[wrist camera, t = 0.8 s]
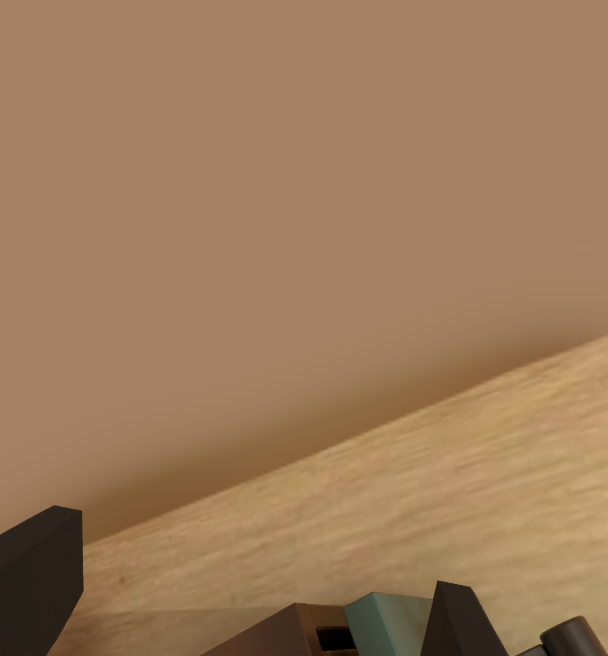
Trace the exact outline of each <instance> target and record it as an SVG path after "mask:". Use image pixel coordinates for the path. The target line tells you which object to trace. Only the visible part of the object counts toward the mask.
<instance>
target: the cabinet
mask: <svg viewBox="0 0 608 656" xmlns="http://www.w3.org/2000/svg"><path fill="white" fill-rule="evenodd" d="M344 607H346V606H331V605H315V604H306V603H293V604H291V605H290V606H288V607H286V608H284V609H282V610H281V611H279V612H277V613H275V614H274V615H272V616H270V617H268V618H266V619H265V620H263V621H261V622H259V623H258V624H256V625H254V626H252V627H250V628H249V629H247V630H245V631H243V632H242V633H240V634H238V635H236V636H234V637H233V638H231V639H229V640H227V641H226V642H224V643H222V644H220V645H218V646H217V647H215V648H213V649H211V650H210V651H208V652H206V653H204V654H202V655H201V656H324V655H323V652H322V651H329V650H342V649H356V646H355V644H354V641H353V638H352V635H351V632H350V630H349V627H348V624H347V621H346V618H345V615H344V613H343V608H344Z"/></svg>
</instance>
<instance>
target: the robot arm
mask: <svg viewBox="0 0 608 656" xmlns="http://www.w3.org/2000/svg"><path fill="white" fill-rule="evenodd" d="M82 542H83V541H82V511H80V510H76V509H71V508H65V507H60V506H52V507H50V508H48V509H46V510H44V511H42V512H40V513H38V514H37V515H35V516H33V517H31V518H29V519H27V520H26V521H24V522H22V523H20V524H18V525H17V526H15V527H13V528H11V529H9V530H8V531H6V532H4V533H3V534H1V535H0V656H46V655H47V653H48V652H49V650H50V649H51V647H52V646H53V644H54V643H55V642H56V640H57V638H58V636H59V635H60V633H61V631H62V629H63V628H64V626H65V624H66V622H67V621H68V619H69V617H70V615H71V613H72V611H73V610H74V608H75V606H76V604H77V602H78V600H79V598H80V597H81V595H82V593H83V591H84V588H83V543H82ZM420 656H509V655H508V653H507V651H506V650H505V648H504V646H503V644H502V642H501V641H500V639H499V637H498V635H497V634H496V632H495V630H494V628H493V626H492V625H491V623H490V621H489V619H488V617H487V615H486V613H485V612H484V610H483V608H482V606H481V604H480V602H479V600H478V598H477V597H476V595H475V593H474V592H473V590H472V589H471V587H468V586H463V585H458V584H453V583H448V582H443V581H438V580H437V585H436V589H435V593H434V598H433V602H432V606H431V611H430V615H429V619H428V623H427V628H426V632H425V636H424V641H423V645H422V649H421V654H420Z"/></svg>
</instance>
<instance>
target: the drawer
mask: <svg viewBox="0 0 608 656" xmlns="http://www.w3.org/2000/svg"><path fill="white" fill-rule="evenodd" d="M432 602H433V599H425V598H417V597H409V596H400V595H392V594H384V593H375V592H371V593H370V594H368V595H366V596H364V597H362V598H360V599H359V600H357V601H355V602H353V603H351V604H349V605H348V606H346V607H344V608H343V613H344V615H345V618H346V621H347V624H348V627H349V630H350V632H351V635H352V638H353V641H354V644H355V646H356V649H342V650H329V651H322V652H323V655H324V656H420V654H421V649H422V645H423V641H424V636H425V632H426V628H427V623H428V619H429V615H430V611H431V606H432ZM539 637H540V640H541V642H542V643H543V644H539V645H537V646H535V647H532V648H530V649H528V650H526V651H524V652H522V653H520V654H518V655H516V656H608V654H607V652H606V651H605V649H604V648H603V646H602V644H601V643H600V641H599V640H598V638H597V636H596V635H595V633H594V632H593V630H592V628H591V627H590V625H589V624H588V622H587V621H586V619H585V618H584V617H583V616H577V617H574V618H572V619H569V620H567V621H565V622H563V623H560V624H558V625H556V626H554V627H552V628H550V629H548V630H546V631H545V632H543V633H541V635H540V636H539Z"/></svg>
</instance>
